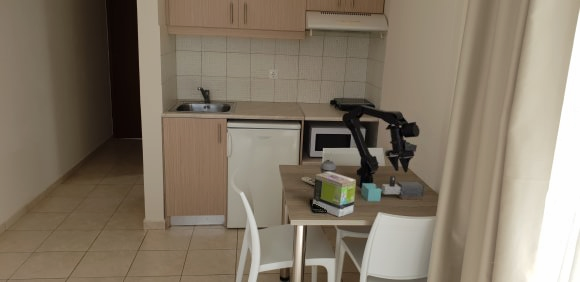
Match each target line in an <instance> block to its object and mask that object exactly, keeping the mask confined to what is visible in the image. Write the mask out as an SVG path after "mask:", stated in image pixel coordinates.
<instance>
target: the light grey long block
mask: <svg viewBox="0 0 580 282" xmlns="http://www.w3.org/2000/svg"><path fill="white" fill-rule="evenodd" d="M389 176H390V178H389V183H388V184H387V183H386V184H385V183H383V184H382V185H381V188H380V189H381V194H383V195H397V194H401V188H402V186H401V185H399V184H397V183H396V175H389Z"/></svg>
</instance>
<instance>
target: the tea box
mask: <svg viewBox="0 0 580 282" xmlns="http://www.w3.org/2000/svg"><path fill="white" fill-rule="evenodd" d="M356 186H357V179H355V178H352V177H349V176H346V175H342V174H339V173H336V172H335V173H333V172H330V171H329V172H325V173H321V172H320V173H316V174H314V185H313V187H314V188H313V199H312V205H313V204H316V205H318V206H320V207H322V208H324V209H326V210H327V212H326V213H328V214H331V215H333V216H335V217H338V218H339V217H340V218H341V217H343V216H346V215H350V214H352V213H354V206H355V205H354V204H355V196H356Z"/></svg>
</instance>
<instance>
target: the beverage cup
mask: <svg viewBox="0 0 580 282" xmlns="http://www.w3.org/2000/svg"><path fill="white" fill-rule="evenodd" d="M332 156H333V151H331V152H330V157H329V159H327V160H324V161H323V162H321V166H320V173H325V172H329V171H330V172H333V173H336V170H337V168H336V164H335V162H334V161H332Z"/></svg>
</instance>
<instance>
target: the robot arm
mask: <svg viewBox="0 0 580 282" xmlns="http://www.w3.org/2000/svg"><path fill="white" fill-rule="evenodd" d="M364 115H366V116H369V117H374V118H377V119H380V120H382V121H383V122H385V123H387V124H388V125H387V127H385V130H386V131H387V130H389V132H390V141H389V144H391V149H387V150H386V151H385V157H386V158H387V160H389V162H390V164H391V165H392V167H393V168H394V171H395V172H398V171H399V162H400V165H401V167H402V170H403V171H404V173H407V172H408V169H409V165H410V162H411V159H413V158H414V156H415V153H416V152H417V148H418V146H417V144H413V143H411V142H408V141H407V140H406V139H407V138H408V139H409V138H417V137H419V136H420V128H419V125H418V124H417V122H416V121H413V122H408V121H407V119H406V118H405V117H404V115H403V113H402V112H401V111H398V110H385V109H384V110H383V109H379V108H376V107H372V106H369V105H366V104H360V105H358V106H356V107H355V108H354V109H351V110H350V111H348V112H345V113H344V114H343V115H342V117H341V118H342V119H341V121H342V123H343V124H344V126H345V128H347V129H348V130H349V131H350V133H351V136H352V139H353V141H354V143H355V146H356V148H357V152H358V154H359V157H360V163H359V165H360V168H358V169H357V170H356V175H357V176H358V178H357V182H356V186H358V187H359V189H362V183H374V178H373V176H374V175H375V174H376V172H377V171H378V170H379V167H380V166H379V164H380V163H379V161H378V158H377V156H376V155H374V156H373V155H372V154H371V153H370V150H369V147H368V145H367V143H366V140H365V137H364V135H363V133H362V130H361V118H363V116H364ZM405 138H406V139H405Z"/></svg>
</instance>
